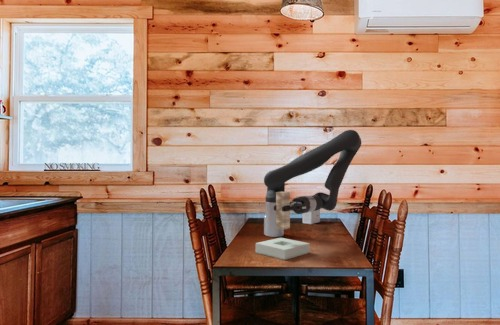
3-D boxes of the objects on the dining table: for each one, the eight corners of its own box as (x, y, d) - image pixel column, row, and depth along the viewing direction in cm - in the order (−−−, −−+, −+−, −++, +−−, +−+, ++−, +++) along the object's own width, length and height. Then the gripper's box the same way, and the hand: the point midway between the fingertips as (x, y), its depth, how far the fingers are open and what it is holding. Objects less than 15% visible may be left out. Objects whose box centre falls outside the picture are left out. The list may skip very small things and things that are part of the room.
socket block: (255, 252, 156) (255, 243, 156) (280, 246, 167) (280, 237, 167) (284, 260, 145) (284, 249, 145) (309, 252, 156) (309, 243, 156)
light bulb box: (310, 220, 236) (310, 203, 236) (320, 222, 232) (320, 204, 232) (301, 223, 228) (302, 205, 228) (311, 224, 224) (311, 206, 224)
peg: (276, 228, 156) (276, 192, 156) (282, 226, 159) (282, 191, 159) (283, 229, 153) (283, 192, 153) (289, 228, 156) (289, 192, 156)
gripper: (291, 195, 171) (265, 198, 159) (317, 197, 161) (291, 200, 149) (291, 211, 171) (265, 215, 159) (317, 214, 161) (292, 219, 149)
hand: (278, 208), depth 154 cm, fingers closed on peg, 4 cm apart
